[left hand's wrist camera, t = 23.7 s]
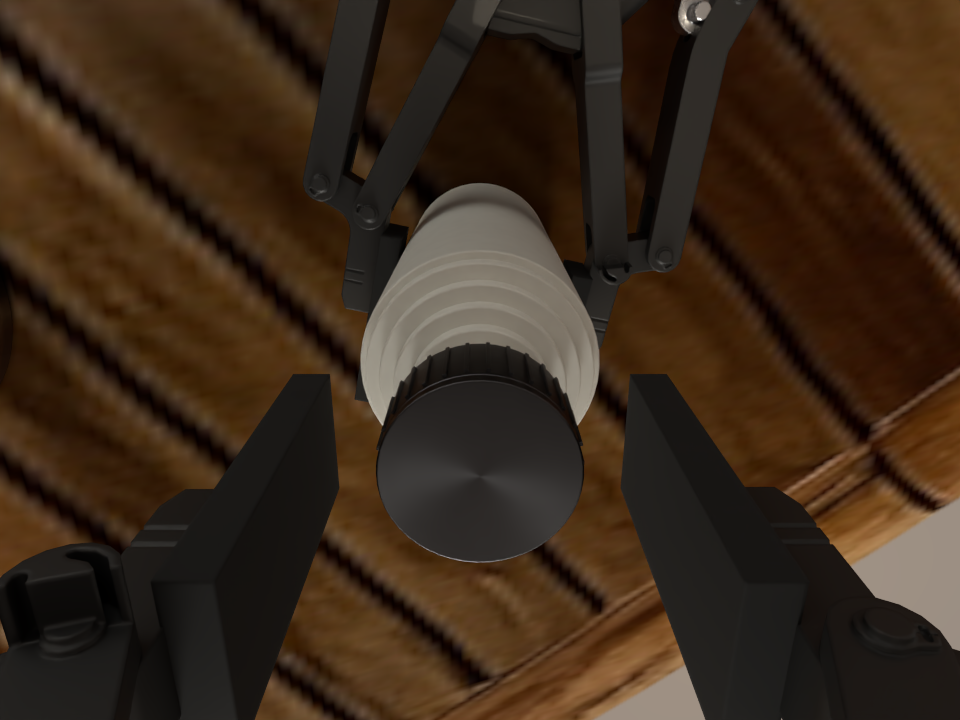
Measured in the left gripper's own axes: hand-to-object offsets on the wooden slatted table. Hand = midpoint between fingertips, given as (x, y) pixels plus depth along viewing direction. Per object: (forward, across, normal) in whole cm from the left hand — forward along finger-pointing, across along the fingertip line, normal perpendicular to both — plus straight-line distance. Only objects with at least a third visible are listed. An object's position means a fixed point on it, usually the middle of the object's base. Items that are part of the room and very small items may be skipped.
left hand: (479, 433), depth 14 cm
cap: (-1, 0, 0) cm, 1 cm away
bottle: (+19, 0, 0) cm, 19 cm away
